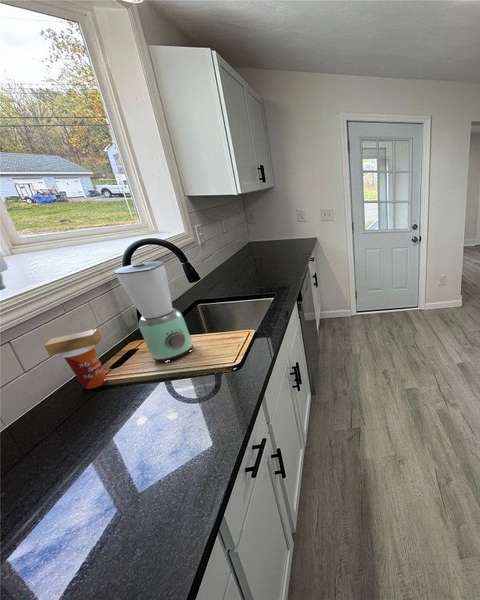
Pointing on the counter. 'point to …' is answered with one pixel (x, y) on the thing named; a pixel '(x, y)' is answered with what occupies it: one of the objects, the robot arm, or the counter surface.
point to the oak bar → (73, 342)
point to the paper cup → (86, 366)
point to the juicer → (156, 310)
